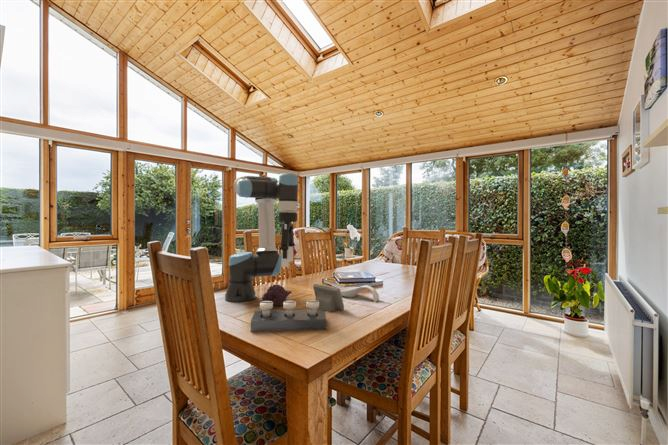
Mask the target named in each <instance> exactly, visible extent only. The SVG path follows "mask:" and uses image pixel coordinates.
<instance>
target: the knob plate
mask: <svg viewBox="0 0 668 445" xmlns="http://www.w3.org/2000/svg"><path fill="white" fill-rule="evenodd" d="M327 325H328V324H327V316H326V312H325V310H322V309H316V316H309V309H297V310H296V309H294V316H293V317H286V309H285V310H270V317H262V310H255V311H254V313H253V314H252V317H251V319H250V332H251V333H261V332H288V331H289V332H292V331H293V332H294V331H295V332H297V331H301V332H302V331H327Z"/></svg>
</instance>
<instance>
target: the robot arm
mask: <svg viewBox="0 0 668 445" xmlns="http://www.w3.org/2000/svg"><path fill="white" fill-rule="evenodd" d="M298 186H299V180H298V175H297V174H295V173H288V172H287V173H280V174H279V178H278V179H277V178H275V177H270V176H255V175H254V176H253V175H245V176H240V177H238V178H236V179H235V180H234V182H233V183H232V189H233V191H234V193H235V194H236V195H238V196H239V197H240V198H245V199H247V198H251V199H252V198H254V199H255V201H254V202H256V204H257V205H258V207H257V208H258V209H257V210H258V216H257V217H258V249H257V250H256V251H255V252H256V253H255V254H254V253H253V252H252V251H245V252H237V253H235V254H231V255H230V256H229V258H228V285H227V288H226V292H225V294H224V299H225V301H227V302H234V303H235V302H237V303H239V302H240V303H241V302H248V301H252V300H255V299H256V294H257V293H256V291H255V287H254V285H253V278H260V277H261V278H262V277H274V276H278V275H279V274H280V272H281V269H282V268H289V266H290V263H293V262H294V247H295V246H296V244H295V242H294V224H293V223H296V222H298V213H297V212H298V207H299V206H300V204H299V203H298V197H299V196H298V193H299V192H298V188H299V187H298ZM277 202H278V211H279V212H278V222H283V223H282V225H281V227H282V228H281V229H282V231H281V240H280V241H281V242H280V247H279V250H278V249H277V247H276V232H275V231H276V228H275V226H276V224H275V223H276V222H275V219H276V218H275V204H276V203H277ZM279 251H281V253H279Z"/></svg>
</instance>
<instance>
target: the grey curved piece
mask: <svg viewBox="0 0 668 445" xmlns="http://www.w3.org/2000/svg"><path fill="white" fill-rule="evenodd" d="M339 289H340V291H341V296H342V297H344V298H354V297H356V296H357V295H358V294H359V293H360V292H361V291H363V290H364V289H366V290H368V291H369V292H371V293H372V296H373V302H374V303H376V302H378V301H379V300H380V295H379V293H378V291H377V290H376V289H375V288H374V287H373V286H370V285H367V284H366V285H365V284H364V285H361V286H348V287H347V286H346V287H341V288H339Z"/></svg>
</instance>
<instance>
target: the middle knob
mask: <svg viewBox="0 0 668 445" xmlns="http://www.w3.org/2000/svg"><path fill="white" fill-rule="evenodd" d="M282 305H283V306H282V308H283V309H285V310H286V317H293V316H294V310H296V308H297V301H295V300H286V301H285V302H283V304H282Z"/></svg>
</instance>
